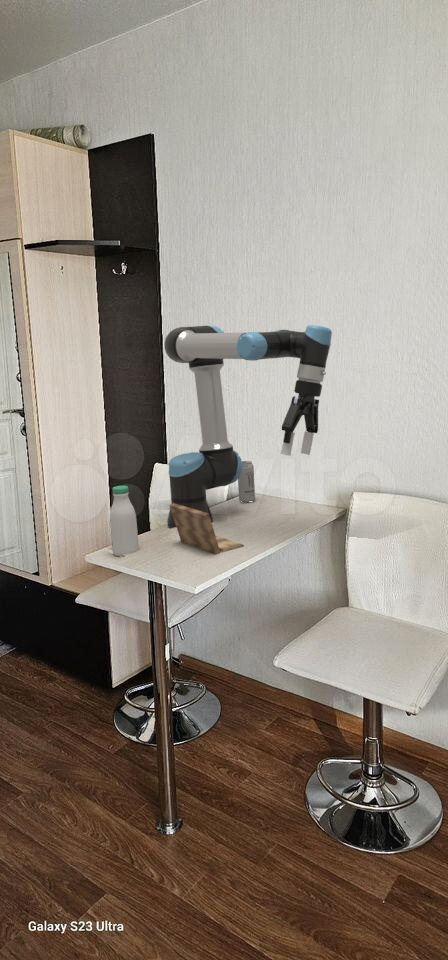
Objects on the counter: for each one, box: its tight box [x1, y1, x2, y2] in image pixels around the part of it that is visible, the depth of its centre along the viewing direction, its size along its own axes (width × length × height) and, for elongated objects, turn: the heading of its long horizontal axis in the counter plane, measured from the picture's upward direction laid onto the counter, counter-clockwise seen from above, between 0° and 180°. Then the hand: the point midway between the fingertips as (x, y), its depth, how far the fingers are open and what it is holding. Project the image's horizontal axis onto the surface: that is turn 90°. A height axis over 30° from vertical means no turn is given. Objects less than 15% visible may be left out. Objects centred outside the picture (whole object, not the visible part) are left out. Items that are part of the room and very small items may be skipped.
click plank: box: [169, 503, 221, 555], centre depth 202 cm, size 18×2×13 cm, turn 37°
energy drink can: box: [237, 460, 256, 502], centre depth 260 cm, size 6×6×15 cm
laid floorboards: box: [215, 534, 245, 554], centre depth 208 cm, size 18×8×2 cm, turn 37°
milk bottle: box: [109, 485, 140, 557], centre depth 204 cm, size 8×8×20 cm
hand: (295, 454), depth 202 cm, fingers open, 13 cm apart
